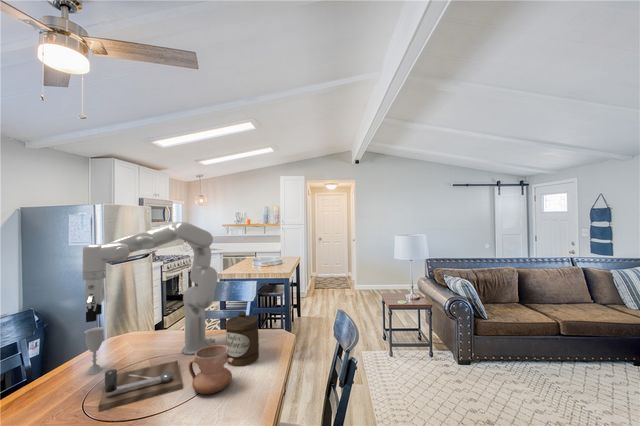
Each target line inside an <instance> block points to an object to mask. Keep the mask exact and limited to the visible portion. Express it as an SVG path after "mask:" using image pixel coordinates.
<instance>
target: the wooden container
mask: <svg viewBox="0 0 640 426" xmlns="http://www.w3.org/2000/svg"><path fill="white" fill-rule="evenodd" d="M258 320H259V319H258V317H257V316H256V315H251V314H246V311H243V310H241V311H239V312H238V313H237V316H233V317H230V318H228V319H227V320H226V321H225V333H226V337H225V339H226V340H225V342H226V343H225V344H226V345H225V346H227V347H228V355H227V358H232V359H233V361H232V363H230V362H227V363H226V364H228V365H230V366H233V367H244V366H249V365H251V364H253V363H255V362H256V361H258V360H259V358H260V342H259V341H260V340H259V338H260V337H259V321H258Z"/></svg>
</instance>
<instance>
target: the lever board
mask: <svg viewBox="0 0 640 426" xmlns="http://www.w3.org/2000/svg"><path fill="white" fill-rule="evenodd" d="M165 372H173V379H172V380H171V381H169V382H166V383H158V384H154V385H150V386H146V387H142V388H138V389H135V390H131V391H127V392H123V393H119V394H115V395H111V396H107V393H106V392H105V385H103V390H102V393H101V395H100V399H99V402H98V405H97V406H98V407H97V409H98V412H101V411H105V410H109V409H112V408H116V407H120V406H124V405H128V404H130V402H131V403H134V401H135V402H137V401H142V400H146V399H149V398H152V397H156V396H159V394H160V395H164V394H167V393H171V392H174V391H173V390H175V391H178V390H181V388H182V386H183V384H182V377H181V373H180V366H179V360H177V359H176V360H173V361H169V362H164V363H161V364H156V365H151V366H147V367H143V368H139V369H134V370H129V371H125V372H121V373H117V387H118V386H122V385H126V384H130V383H134V382H138V381H143V380H147V379H151V378H155V377H159V376H161V374H163V373H165ZM177 389H178V390H177ZM170 391H171V392H170ZM163 393H164V394H163ZM141 399H142V400H141ZM123 404H124V405H123Z"/></svg>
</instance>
